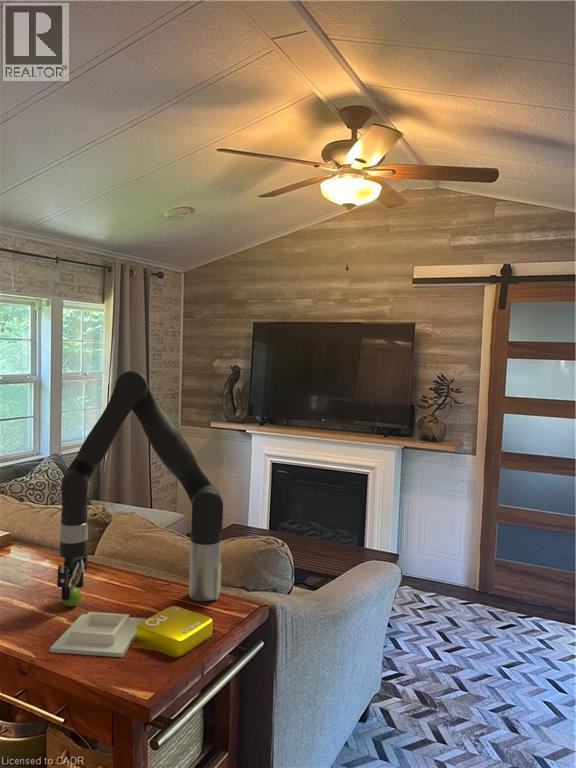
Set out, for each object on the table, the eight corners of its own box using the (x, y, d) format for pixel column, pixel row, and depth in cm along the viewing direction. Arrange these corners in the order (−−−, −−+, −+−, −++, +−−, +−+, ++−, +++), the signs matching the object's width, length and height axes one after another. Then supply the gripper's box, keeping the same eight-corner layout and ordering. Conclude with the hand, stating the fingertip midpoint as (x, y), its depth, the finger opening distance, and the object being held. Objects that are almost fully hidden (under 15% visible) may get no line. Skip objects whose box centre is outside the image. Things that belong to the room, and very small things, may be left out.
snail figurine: (87, 602, 160) (88, 562, 159) (70, 611, 154) (71, 569, 153) (74, 598, 162) (75, 559, 162) (56, 607, 156) (57, 566, 156)
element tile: (177, 660, 132) (177, 640, 132) (132, 642, 139) (132, 623, 139) (215, 634, 145) (216, 616, 145) (172, 619, 152) (173, 602, 152)
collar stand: (146, 621, 150) (146, 609, 149) (122, 657, 132) (122, 643, 131) (82, 617, 151) (82, 605, 150) (49, 652, 133) (50, 638, 133)
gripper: (75, 547, 150) (74, 605, 150) (96, 531, 164) (95, 584, 165) (49, 545, 150) (47, 603, 151) (72, 529, 164) (71, 582, 165)
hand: (72, 593), depth 158 cm, fingers open, 8 cm apart
